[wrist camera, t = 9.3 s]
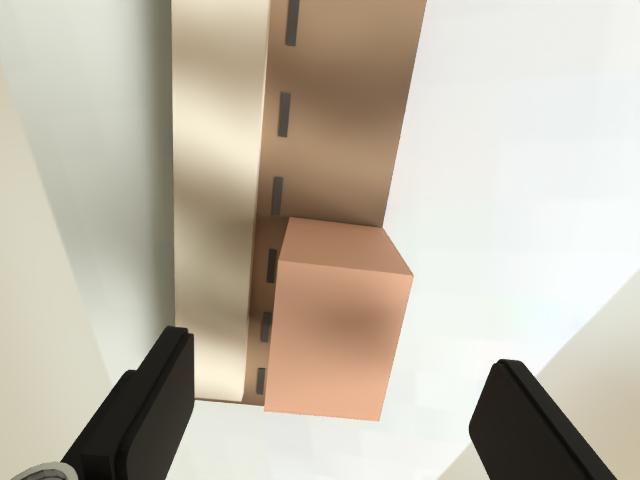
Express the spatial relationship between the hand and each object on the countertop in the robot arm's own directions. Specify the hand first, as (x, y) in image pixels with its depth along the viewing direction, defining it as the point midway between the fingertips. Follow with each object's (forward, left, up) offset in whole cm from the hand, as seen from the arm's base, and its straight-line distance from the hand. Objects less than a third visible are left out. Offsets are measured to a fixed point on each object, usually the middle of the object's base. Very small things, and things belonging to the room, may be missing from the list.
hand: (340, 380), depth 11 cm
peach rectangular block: (+1, 0, -9) cm, 9 cm away
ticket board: (-4, -3, -11) cm, 12 cm away
